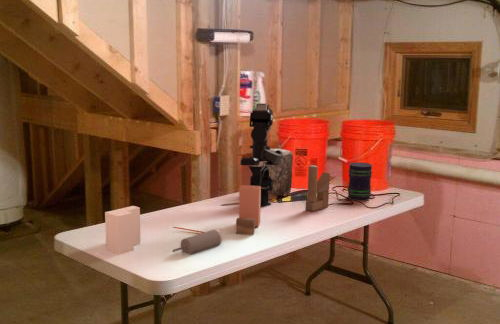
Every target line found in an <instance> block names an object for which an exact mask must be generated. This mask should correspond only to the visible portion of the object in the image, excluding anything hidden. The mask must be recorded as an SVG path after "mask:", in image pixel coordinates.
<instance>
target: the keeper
mask: <svg viewBox="0 0 500 324" xmlns="http://www.w3.org/2000/svg"><path fill="white" fill-rule="evenodd" d="M238 191H239V192H238V194H239V196H238V200H239V201H238V203H239V204H238V218H253V219H255V228H257V227H259V226H260V224H261V207H262V206H261V186H250V185H249V184H248V185H247V184H246V185H245V184H241V185H240V186H239V189H238Z"/></svg>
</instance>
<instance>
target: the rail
mask: <svg viewBox="0 0 500 324" xmlns="http://www.w3.org/2000/svg"><path fill="white" fill-rule="evenodd" d="M235 226H236V227H235V234H237V235H249V236H250V235H251V236H254V234H255V231H256V230H255V229H256V227H255V219H253V218H239V217H237V218H236V220H235Z"/></svg>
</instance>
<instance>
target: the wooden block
mask: <svg viewBox="0 0 500 324" xmlns="http://www.w3.org/2000/svg"><path fill="white" fill-rule="evenodd" d="M318 170H319V169H318V166H317V165H309V166H308V174H307V201H306V200H305V211H309V212H315V211H319V210H322V209H326V208H328V207H329V196H330V177H331V176H330V175H331V173H329V172H322V173H321V175H320V176H319V178H318V172H319V171H318Z"/></svg>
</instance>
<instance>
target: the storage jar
mask: <svg viewBox="0 0 500 324" xmlns="http://www.w3.org/2000/svg"><path fill="white" fill-rule="evenodd" d="M348 167H349V168H348V177H349V179H348V185H347V199H349V200H353V201H360V202H361V201H365V202H366V201H369V200H371V194H372V190H371V189H372V186H371V179H372V176H373V175H372V174H373V171H372V170H373V168H372V167H373V165H372V164H371V163H370V162H369V163H368V162H357V161H356V162H350V163H349V164H348Z"/></svg>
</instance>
